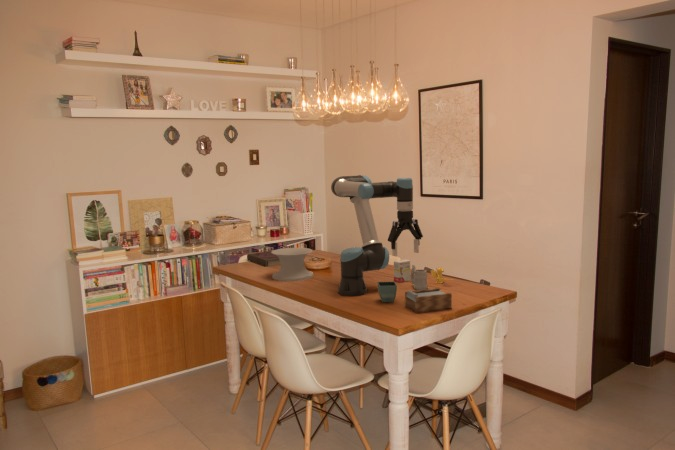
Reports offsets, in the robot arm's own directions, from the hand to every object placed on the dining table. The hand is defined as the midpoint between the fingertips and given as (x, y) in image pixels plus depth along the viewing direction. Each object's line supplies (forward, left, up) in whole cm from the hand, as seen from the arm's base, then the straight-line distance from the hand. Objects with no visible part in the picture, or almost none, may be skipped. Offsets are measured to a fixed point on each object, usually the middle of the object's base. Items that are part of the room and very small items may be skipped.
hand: (405, 254), depth 259 cm
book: (-40, +134, -25) cm, 142 cm away
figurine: (+37, +29, -24) cm, 53 cm away
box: (+6, -11, -24) cm, 27 cm away
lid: (+6, -11, -19) cm, 23 cm away
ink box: (+18, +43, -24) cm, 52 cm away
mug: (+19, +25, -24) cm, 39 cm away
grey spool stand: (-37, +81, -25) cm, 92 cm away
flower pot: (-7, +7, -24) cm, 26 cm away
